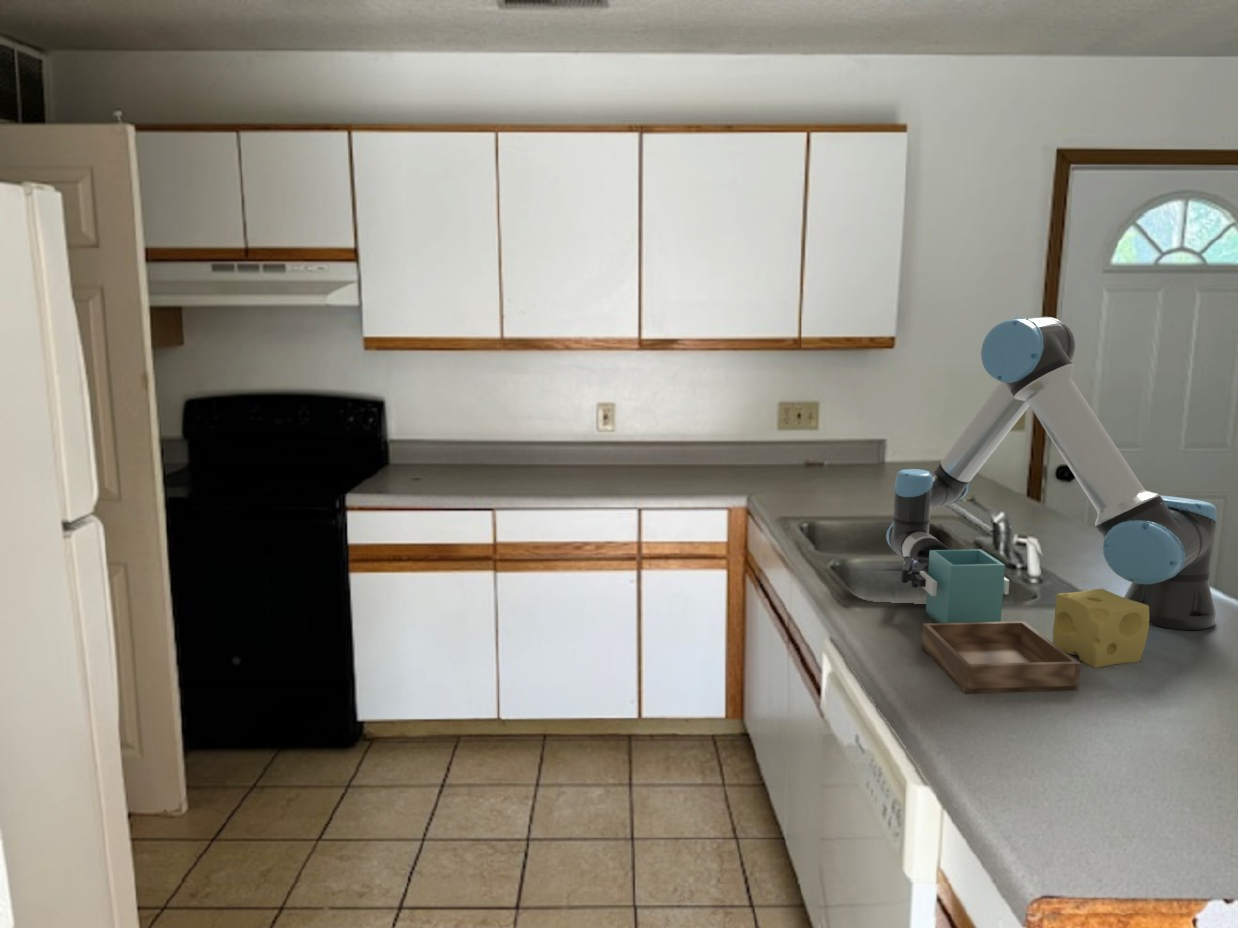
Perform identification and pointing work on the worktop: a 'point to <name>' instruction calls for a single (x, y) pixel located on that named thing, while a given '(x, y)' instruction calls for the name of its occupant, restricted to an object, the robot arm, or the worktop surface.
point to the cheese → (1100, 627)
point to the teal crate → (965, 586)
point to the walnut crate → (999, 657)
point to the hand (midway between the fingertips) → (970, 588)
